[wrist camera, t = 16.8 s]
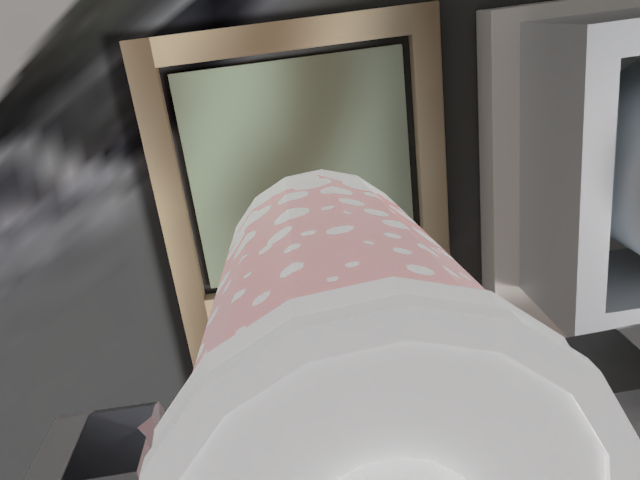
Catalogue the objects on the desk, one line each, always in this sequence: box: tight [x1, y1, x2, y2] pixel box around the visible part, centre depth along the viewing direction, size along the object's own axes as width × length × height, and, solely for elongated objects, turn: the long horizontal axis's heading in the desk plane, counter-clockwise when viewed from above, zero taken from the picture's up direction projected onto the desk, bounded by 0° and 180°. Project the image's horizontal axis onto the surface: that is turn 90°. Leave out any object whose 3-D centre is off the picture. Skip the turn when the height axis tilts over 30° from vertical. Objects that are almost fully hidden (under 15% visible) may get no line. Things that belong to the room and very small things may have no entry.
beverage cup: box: [139, 169, 640, 480], centre depth 9 cm, size 6×6×14 cm
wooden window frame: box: [119, 1, 450, 368], centre depth 26 cm, size 11×31×1 cm, turn 7°
